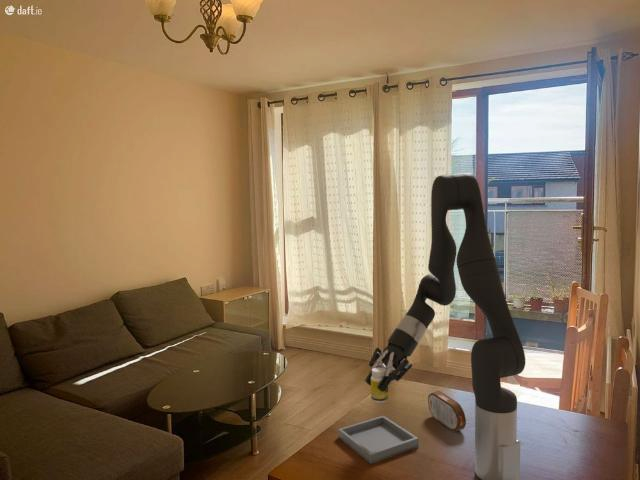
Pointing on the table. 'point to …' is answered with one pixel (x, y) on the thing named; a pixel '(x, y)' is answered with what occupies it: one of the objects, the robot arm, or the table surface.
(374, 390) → the supplement bottle
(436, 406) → the tin
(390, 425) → the tray
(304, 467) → the table surface
